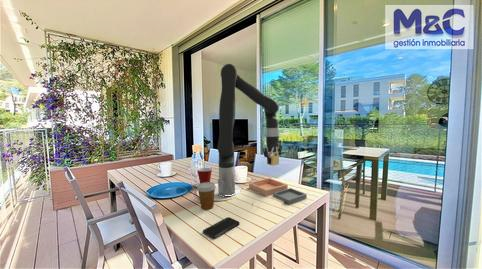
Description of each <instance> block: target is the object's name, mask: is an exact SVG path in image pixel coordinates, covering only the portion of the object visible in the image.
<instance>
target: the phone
mask: <svg viewBox="0 0 482 269" xmlns="http://www.w3.org/2000/svg"><path fill="white" fill-rule="evenodd" d="M238 226H240V221H238V220H236V219H234V218H232V217H230V216H229V217H226V218H223V219H222V220H219V221H217V222H215V223H214V224H212V225H210V226H209V227H205V229H203V230H202V234H203V235H204V236H207V237H208V238H210V239H211V240H217V239H218V238H220V237H221V236H224V235H225V234H226V233H229V232H230V231H231V230H233V229H235V228H237V227H238Z"/></svg>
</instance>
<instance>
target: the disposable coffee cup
mask: <svg viewBox="0 0 482 269" xmlns="http://www.w3.org/2000/svg"><path fill="white" fill-rule="evenodd" d="M215 184H216V183H214V182H212V181H210V182H204V183H200V182H199V183H198V185H197V187H196V189H197V191H198V192H197V193H198V197H199V204H200V208H201V210H204V211H208V210H211V209H213V208H214V204H215V192H216V191H215V190H216V187H217V186H216V185H215Z"/></svg>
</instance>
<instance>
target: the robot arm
mask: <svg viewBox="0 0 482 269" xmlns="http://www.w3.org/2000/svg"><path fill="white" fill-rule="evenodd" d="M220 77H221V92H220V98H219V106H218V107H219V110H218V122H219V123H218V125H219V135H218V136H219V137H218V143H217V151H218V152H217V153H218V177H219V178H217V189H218V190H217V191H218V192H217V194H218V195H219V194H220V195H222V196H225V195H232V194H234V193H235V194H236V178H235V144H234V141H233V130H234V125H235V119H236V89H237V90H239V91H240V92H242V93H243V94H244V95H245V96H246V97H247V98H249V99H250V100H252V101H253V102H254V103H255V104H257V105H259V106H261V107H262V108H263V109H264V115H265V138H266V139H265V143H266V147H262V152H263V156H264V158H266V164H267V163H268V164H267V165H269V164H271V155H276V156H279V157H280V156H281V155H282V148H283V145H281V144H280V139H279V138H280V136H279V134H280V133H279V132H280V131H279V120H278V118H277V112H278V111H279V110H280V105H279V104H278V102H277V101H276V100H274V99H272V98H271V97H269V96H267V95H266V94H265V93H264V92H262V90H260V89H259V88H257V87H256V86H254V85H252V83H251V84H250V83H248V82H247V81H245V80H244V78H242V77H241V76H240V75H239V74H238V70H237V67H236V66H234V65H233V64H231V63H226V64H225V65H223V66H222V68H221V70H220ZM220 195H219V196H220ZM222 196H221V197H222Z"/></svg>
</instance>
